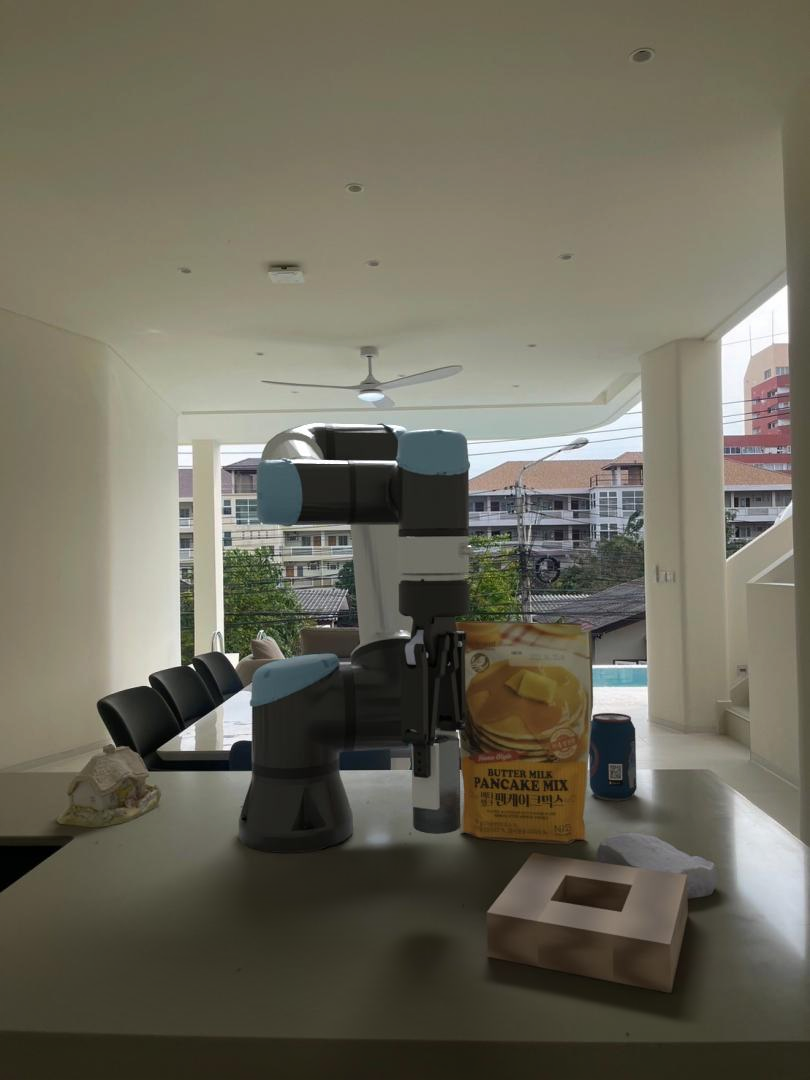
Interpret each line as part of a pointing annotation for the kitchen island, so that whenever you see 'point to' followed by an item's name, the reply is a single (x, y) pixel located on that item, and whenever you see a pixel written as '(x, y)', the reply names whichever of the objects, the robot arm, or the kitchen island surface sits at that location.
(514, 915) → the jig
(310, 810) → the robot arm
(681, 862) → the stone block
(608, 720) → the soda can
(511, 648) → the pancake mix bag
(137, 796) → the ceramic model
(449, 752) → the cylinder
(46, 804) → the kitchen island surface
